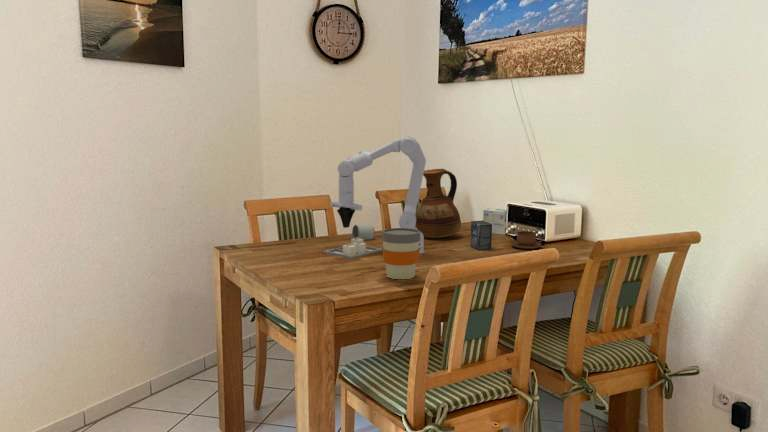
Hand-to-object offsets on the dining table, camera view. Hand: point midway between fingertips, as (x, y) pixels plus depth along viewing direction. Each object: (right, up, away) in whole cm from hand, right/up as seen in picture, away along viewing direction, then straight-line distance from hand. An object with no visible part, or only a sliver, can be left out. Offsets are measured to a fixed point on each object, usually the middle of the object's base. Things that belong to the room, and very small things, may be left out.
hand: (346, 227), depth 230 cm
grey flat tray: (+3, -10, -4) cm, 11 cm away
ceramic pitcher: (+38, -5, +33) cm, 50 cm away
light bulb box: (+66, -4, +42) cm, 78 cm away
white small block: (+4, -8, +2) cm, 10 cm away
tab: (+2, -10, -10) cm, 15 cm away
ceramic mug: (+5, -6, +22) cm, 24 cm away
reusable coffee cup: (+20, -16, -36) cm, 44 cm away
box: (+53, -9, +9) cm, 55 cm away
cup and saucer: (+72, -9, +11) cm, 73 cm away
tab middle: (+5, -10, -6) cm, 12 cm away
